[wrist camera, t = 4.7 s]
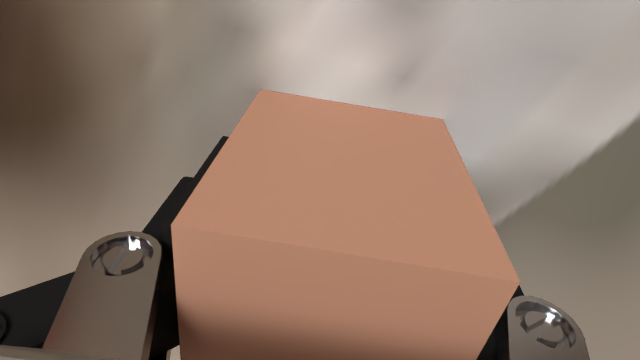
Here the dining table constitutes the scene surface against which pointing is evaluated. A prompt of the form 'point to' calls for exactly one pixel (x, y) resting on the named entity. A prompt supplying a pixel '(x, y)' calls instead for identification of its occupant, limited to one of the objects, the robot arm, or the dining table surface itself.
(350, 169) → the block
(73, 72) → the dining table surface
